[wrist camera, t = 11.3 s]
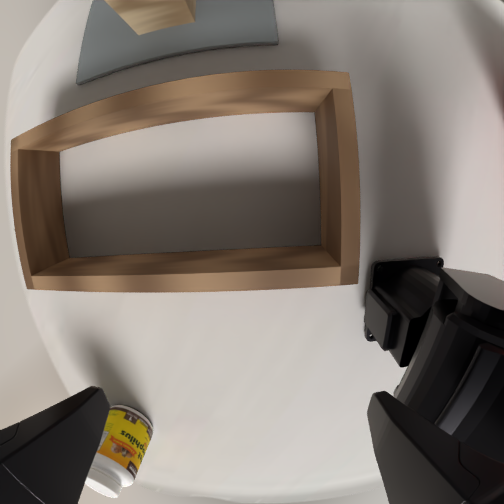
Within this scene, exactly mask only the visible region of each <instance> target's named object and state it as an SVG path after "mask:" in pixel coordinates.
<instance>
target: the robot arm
mask: <svg viewBox="0 0 504 504" xmlns="http://www.w3.org/2000/svg"><path fill="white" fill-rule="evenodd" d="M438 261H439V263H438V265H437V262H438ZM380 265H381V268H380V270H378V271H377V267H378V266H380ZM443 265H444V261H443V259H442V258H441V257H438V256H435V257H422V258H408V259H393V260H378V261H375V262H374V263H373V265H372V270H371V283H370V289H369V290H368V292H367V297H366V307H365V316H364V322H365V324H366V329H365V338H366V339H367V341H370V342H371V341H377V342H378V343H379V345H380V347H381V348H382V349H383V350H384V351H388V350H389V351H390V353H391V354H392V356H393V357H394V359H395V360H396V362H397V363H398V365H399V366H400V367H406V366H408V367H407V370H406V372H405V374H404V376H403V378H402V380H401V382H400V384H399V385H398V386H397V387H396V389H395V391H394V397H393V396H392V395H390V394H389V393H388V392H386V391H381V392H376V393H373V395H372V397H371V400H370V404H369V407H368V411H367V416H368V421H369V426H370V432H371V437H372V443H373V448H374V453H375V457H376V460H377V463H378V466H379V470H380V473H381V476H382V480H383V483H384V487H385V490H386V493H387V497H388V501H389V504H504V281H502V280H500V279H498V278H495V277H493V276H491V275H488V274H482V273H476V272H469V271H462V270H456V269H449V268H443ZM370 334H373V335H372V336H370ZM109 411H110V404H109V402H108V400H107V397H106V395H105V393H104V391H103V389H102V388H99V387H95V386H91V387H88V388H87V389H85V390H83V391H81V392H79V393H77V394H75V395H73V396H71V397H69V398H67V399H65V400H63V401H61V402H60V403H57V404H55V405H53V406H51V407H49V408H47V409H45V410H43V411H41V412H39V413H37V414H35V415H33V416H31V417H29V418H27V419H25V420H22V421H21V422H20V423H19V422H18V423H16V424H14V425H12V426H9V427H7V428H5V429H2V430H0V504H78V501H79V498H80V495H81V492H82V489H83V486H84V484H85V481H86V478H87V476H88V473H89V470H90V468H91V465H92V463H93V460H94V457H95V455H96V452H97V450H98V447H99V445H100V442H101V439H102V435H103V432H104V428H105V425H106V421H107V418H108V414H109Z"/></svg>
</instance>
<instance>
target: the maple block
mask: <svg viewBox="0 0 504 504" xmlns="http://www.w3.org/2000/svg"><path fill="white" fill-rule="evenodd" d="M104 1H105V2H106V3H107V4H109V5H110V6H111V7H112V8H113V9H114V10H115V11H116V12H117V14H118V15H119V16H120V17H121V18H122V19H123V20H124V21H125V22H126V23H127V24H128V25H129V26H130V27H131V28H132V29H133V30H134V31H135V32H136V33H137V34H138V35H141V34H145V33H148V32H152V31H156V30H160V29H164V28H168V27H173V26H177V25H182V24H187V23H193V22H195V9H196V0H104Z"/></svg>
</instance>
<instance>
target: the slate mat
mask: <svg viewBox="0 0 504 504" xmlns="http://www.w3.org/2000/svg"><path fill="white" fill-rule="evenodd" d="M252 45H278V35H277V27H276V20H275V12H274V5H273V0H196V9H195V22H193V23H187V24H182V25H177V26H173V27H168V28H164V29H160V30H156V31H152V32H148V33H145V34H141V35H138V34H137V33H136V32H135V31H134V30H133V29H132V28H131V27H130V26H129V25H128V24H127V23H126V22H125V21H124V20H123V19H122V18H121V17H120V16H119V15H118V14H117V12H116V11H115V10H114V9H113V8H112V7H111V6H110V5H109V4H107V3H106V2H105V1H104V0H94V1H93V2H92V5H91V9H90V12H89V16H88V20H87V24H86V28H85V32H84V37H83V42H82V47H81V52H80V58H79V65H78V71H77V79H76V84H77V85H81V84H84V83H86V82H89V81H91V80H94V79H96V78H99V77H102V76H104V75H107V74H110V73H113V72H116V71H119V70H122V69H125V68H129V67H132V66H135V65H139V64H143V63H146V62H150V61H154V60H158V59H162V58H167V57H171V56H176V55H181V54H186V53H192V52H198V51H204V50H211V49H219V48H228V47H238V46H252Z"/></svg>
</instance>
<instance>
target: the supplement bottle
mask: <svg viewBox="0 0 504 504" xmlns="http://www.w3.org/2000/svg"><path fill="white" fill-rule="evenodd" d="M152 435H153V427H152V425H151V423H150V422H149V420H148V419H147V418H146V417H145V416H144V415H142V414H141V413H140V412H138V411H136V410H134V409H132V408H130V407H127V406H123V405H115V406H112V407H110V411H109V414H108V418H107V421H106V425H105V428H104V432H103V435H102V439H101V442H100V445H99V447H98V450H97V452H96V455H95V457H94V460H93V463H92V465H91V468H90V470H89V473H88V476H87V478H86V481H85V484H86V485H88V486H89V487H90V488H92V489H93V490H95V491H97V492H99V493H101V494H103V495H105V496H108V497H112V498H117V497H118V496H119V493H120V491H121V490H122V489H121V488H122V486H123V487H125V486H130V485H131V484H132V483H133V482H134V479H135V477H136V474H137V472H138V469H139V467H140V464H141V462H142V459H143V457H144V455H145V452H146V450H147V447H148V445H149V442H150V440H151V437H152Z"/></svg>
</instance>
